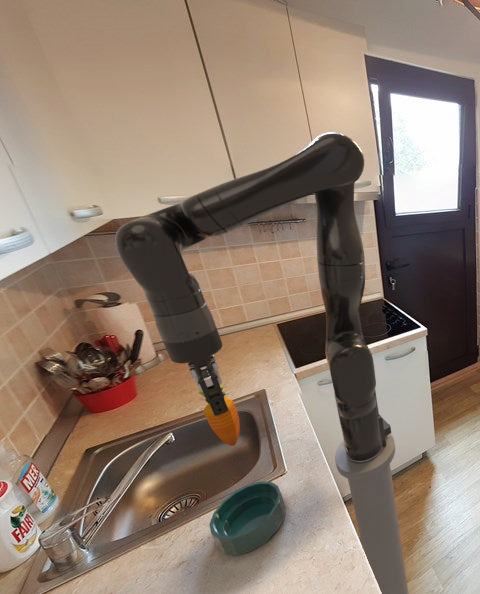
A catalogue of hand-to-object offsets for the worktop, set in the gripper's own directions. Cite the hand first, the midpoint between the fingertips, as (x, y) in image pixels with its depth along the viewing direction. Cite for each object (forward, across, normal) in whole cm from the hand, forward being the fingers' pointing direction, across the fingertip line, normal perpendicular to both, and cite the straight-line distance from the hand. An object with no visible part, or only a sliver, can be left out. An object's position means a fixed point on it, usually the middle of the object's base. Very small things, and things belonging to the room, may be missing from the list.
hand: (219, 405), depth 65 cm
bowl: (+27, -6, +2) cm, 28 cm away
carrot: (+11, 0, 0) cm, 11 cm away
